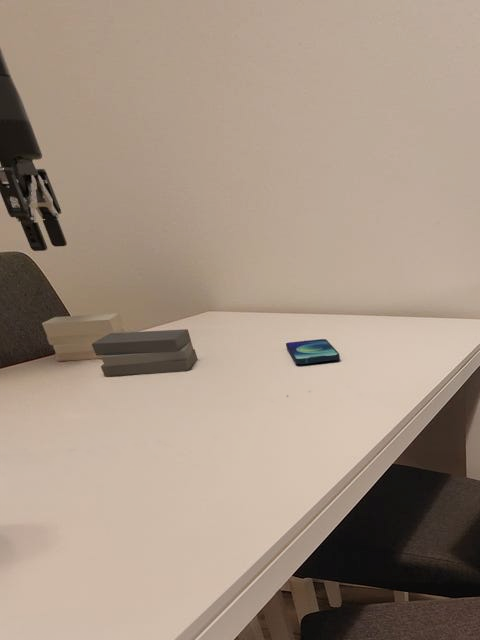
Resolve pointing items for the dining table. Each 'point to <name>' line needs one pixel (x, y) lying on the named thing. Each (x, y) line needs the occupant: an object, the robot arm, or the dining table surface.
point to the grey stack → (145, 352)
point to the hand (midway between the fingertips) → (50, 248)
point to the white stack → (76, 346)
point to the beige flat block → (83, 325)
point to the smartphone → (312, 351)
